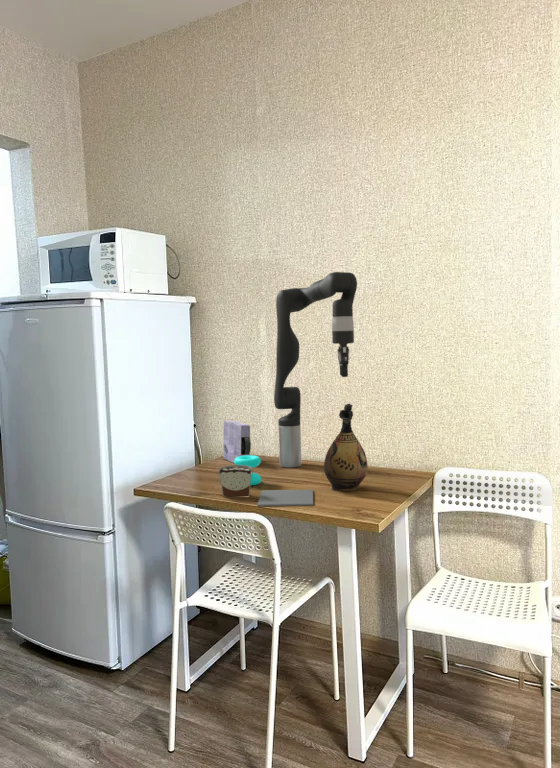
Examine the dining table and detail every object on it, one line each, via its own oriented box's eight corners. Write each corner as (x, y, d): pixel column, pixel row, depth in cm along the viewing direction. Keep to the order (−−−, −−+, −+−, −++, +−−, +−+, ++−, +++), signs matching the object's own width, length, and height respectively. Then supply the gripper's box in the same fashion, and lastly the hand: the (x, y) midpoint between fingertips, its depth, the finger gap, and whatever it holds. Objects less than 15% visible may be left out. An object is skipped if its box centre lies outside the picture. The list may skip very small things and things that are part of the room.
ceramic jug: (367, 494, 207) (365, 407, 205) (322, 493, 210) (320, 407, 207) (369, 482, 224) (367, 401, 221) (327, 481, 227) (325, 402, 224)
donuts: (238, 454, 233) (263, 454, 230) (239, 480, 233) (264, 480, 231) (230, 459, 223) (257, 460, 221) (231, 486, 224) (258, 487, 222)
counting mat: (261, 492, 214) (261, 490, 214) (312, 491, 213) (312, 489, 213) (257, 506, 196) (257, 504, 196) (313, 505, 195) (313, 503, 195)
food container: (257, 492, 214) (256, 464, 213) (253, 497, 207) (252, 468, 207) (223, 492, 216) (222, 464, 215) (218, 496, 210) (217, 468, 209)
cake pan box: (252, 465, 260) (251, 424, 258) (241, 466, 257) (240, 425, 256) (232, 458, 276) (231, 419, 275) (222, 459, 274) (221, 420, 272)
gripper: (355, 329, 205) (356, 377, 206) (352, 329, 219) (352, 374, 221) (333, 330, 205) (334, 377, 207) (331, 330, 220) (332, 375, 221)
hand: (343, 376), depth 214 cm, fingers open, 8 cm apart
